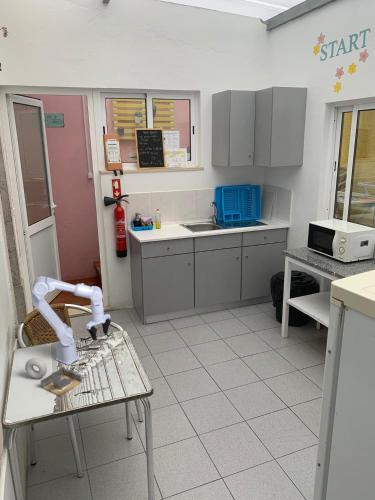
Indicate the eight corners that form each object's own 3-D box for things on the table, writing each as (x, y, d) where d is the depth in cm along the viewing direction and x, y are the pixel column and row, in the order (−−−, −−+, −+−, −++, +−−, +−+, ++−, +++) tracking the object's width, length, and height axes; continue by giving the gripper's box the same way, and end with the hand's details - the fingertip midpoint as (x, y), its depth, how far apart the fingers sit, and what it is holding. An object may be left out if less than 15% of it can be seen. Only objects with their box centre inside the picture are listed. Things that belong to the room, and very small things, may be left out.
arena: (41, 387, 167) (40, 380, 166) (64, 374, 176) (63, 367, 176) (60, 396, 160) (59, 389, 160) (82, 382, 170) (81, 374, 169)
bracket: (59, 390, 164) (58, 377, 162) (53, 387, 166) (52, 375, 164) (70, 382, 169) (69, 370, 167) (64, 380, 171) (63, 368, 169)
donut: (25, 379, 173) (22, 359, 171) (29, 375, 176) (26, 355, 174) (45, 381, 172) (43, 361, 169) (49, 376, 175) (46, 357, 172)
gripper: (92, 318, 179) (95, 345, 183) (114, 307, 191) (116, 332, 194) (81, 315, 183) (84, 341, 186) (103, 305, 195) (105, 329, 198)
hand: (100, 336), depth 191 cm, fingers open, 7 cm apart
